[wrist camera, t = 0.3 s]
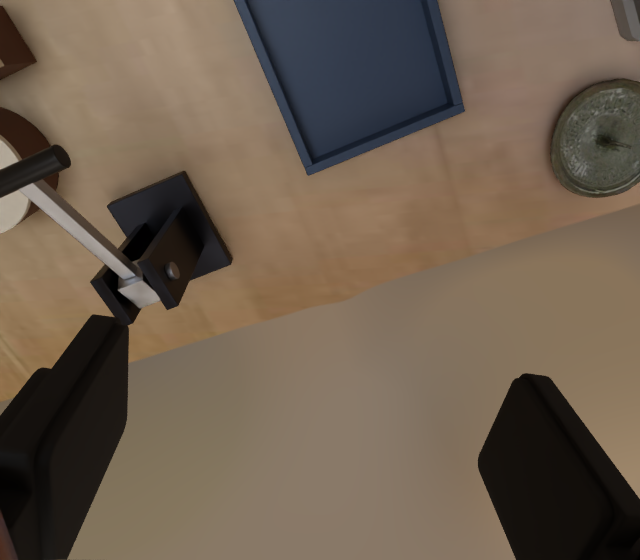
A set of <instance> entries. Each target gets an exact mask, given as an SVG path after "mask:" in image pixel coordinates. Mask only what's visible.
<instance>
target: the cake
mask: <svg viewBox="0 0 640 560" xmlns="http://www.w3.org/2000/svg"><path fill="white" fill-rule="evenodd" d="M48 147H50V145H49V143H48V141H47V140H46V139H45V137H44V136H43V135H42V134H41V133H40V131H39V130H38V129H37V128H36V127H34V126H33V125H32V124H31V123H30V122H29V121H27V120H26V119H24V118H23V117H21V116H19V115H18V114H16V113H14V112H11V111H9V110H6V109H3V108H0V169H2V168H5V167H7V166H9V165H11V164H13V163H16V162H18V161H20V160H22V159H24V158H27V157H29V156H31V155H33V154H35V153H37V152H40V151H42V150H44V149H46V148H48ZM43 180H44V181H45V182H46V183H47V184H48V185H49V186H50V187H51V188H52V189H53V190H54V191H56V188H57V184H58V173H55V174H53V175H51V176H49V177H47V178H44V179H43ZM39 209H40V208H39V207H38V206H37V205H36V204H34V203H33V202H32V201H31V200H30V199H29V198H27V197H26V196H25V195H24V194H23V193H22V192H20V191H19V190H17V191H15V192H13V193H11V194H9V195H6V196H4V197H2V198H0V234H1V233H3V232H6V231H8V230H10V229H11V228H13V227H14V226H16V225H17V224H19V223H20V222H22V221H23V220H25V219H26V218H27V217H29V216H30V215H32V214H33V213H35V212H36V211H38V210H39Z"/></svg>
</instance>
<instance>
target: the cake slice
mask: <svg viewBox="0 0 640 560" xmlns="http://www.w3.org/2000/svg"><path fill="white" fill-rule="evenodd" d="M35 62H37V61H36V59H35V58H34V56H33V55H32V53H31V51H30V50H29V48H28V47H27V45H26V43H25V42H24V40H23V39H22V37H21V35H20V34H19V32H18V31H17V29H16V27H15V26H14V24H13V22H12V21H11V19H10V18H9V16H8V14H7V13H6V11H5V10H4V8H3V7H2V6H0V80H1V79H3V78H5V77H7V76H9V75H11V74H13V73H15V72H17V71H19V70H21V69H23V68H25V67H27V66H29V65H31V64H33V63H35Z"/></svg>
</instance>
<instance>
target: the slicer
mask: <svg viewBox="0 0 640 560" xmlns="http://www.w3.org/2000/svg"><path fill="white" fill-rule="evenodd" d="M107 207H108V209H109V210H110V212H111V214H112V215H113V217H114V218H115V220H116V221H117V223H118V224H119V226H120V228H121V229H122V231H123V232H124V234H125V235H126V237H127V238H126V240H125V241H124V242H123V243H122V244H121V246H120V247H119V248H118V249H119V250H120V251H121V252H122V253H123V254H124V255H125V256H126V257H127V258H128V259H129V260H130V261H132V262H133V261H136V260H138V259H139V261H138V262H137V264H138V266H139V267H140V269H141V271H142V272H143V274H144V275H145V277H146V278H147V280H148V281H149V283H150V284H151V286H152V287H153V289H154V291H155V292H156V294H157V295H158V297H159V298H160V300H161V301H162V303H163V304H164V306H165V307H166V309H167V310H169V309H171V308H174V307H177V306H178V305H179V303H180V301H181V299H182V296H183V294H184V292H185V289H186V287H187V285H188V283H189V281H190V280H193V279H195V278H198V277H200V276H203V275H205V274H208V273H211V272H213V271H216V270H218V269H221V268H223V267H226V266H228V265H231V263H232V257H231V256H230V254H229V252H228V250H227V248H226V246H225V245H224V243H223V241H222V239H221V237H220V235H219V234H218V232H217V230H216V228H215V226H214V224H213V222H212V221H211V219H210V217H209V215H208V213H207V211H206V210H205V208H204V206H203V204H202V202H201V200H200V199H199V197H198V195H197V193H196V191H195V189H194V188H193V186H192V184H191V182H190V180H189V178H188V176H187V175H186V173H185V171H182V172H180V173H178V174H175V175H173V176H171V177H168V178H166V179H164V180H161V181H159V182H157V183H154V184H152V185H150V186H147V187H145V188H143V189H140V190H138V191H136V192H133V193H131V194H129V195H126V196H124V197H122V198H120V199H117V200H115V201H113V202H111V203H110V204H109V205H107ZM118 279H119V276H118V275H117V274H116V273H115V272H114V271H113V270H111V269H110V268H109V267H108V266H107V265H106V264H105V265H104V266H103V267H102V268H101V270H100V271H99V272H98V273H97V274H96V276H95V277H94V278H93V279H92V280H91V282H90V283H91V284H92V286H93V287H94V288H95V290H96V291H97V293H98V294H99V295H100V297H101V298H102V299H103V301H104V302H105V304H106V305H107V306H108V308H109V309H110V311H111V312H112V313H113V315H114V316H115V317H116V318H119V319H120V321H121V325H130V324H132V323H133V322H134V321H135V319H136V317H137V315H138V314H139V312H140V310H141V308H139V307H137V306H136V305H135V304H134V303H132V302H131V301H130V300H129V299H128V298H126V297H125V296H124V295H123V294H121V293H120V292H119V291H118Z"/></svg>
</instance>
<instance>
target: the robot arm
mask: <svg viewBox="0 0 640 560" xmlns="http://www.w3.org/2000/svg"><path fill="white" fill-rule="evenodd" d="M128 345H129V328H128V326H127V325H121V321H120V319H119V318H116V317H109V316H101V315H92V316H91V317H90V318H89V319H88V320H87V322H86V323H85V325H84V326H83V327H82V329H81V330H80V331H79V333H78V334H77V335H76V337H75V338H74V339H73V341H72V342H71V343H70V345H69V346H68V347H67V349H66V350H65V351H64V353H63V354H62V355H61V357H60V358H59V359H58V361H57V362H56V363H55V365H54V366H53V367H52V369H49V368H40V369H38V370H37V371H36V372H35V373H34V374H33V375H32V376H31V377H30V379H29V380H28V381H27V382H26V384H25V385H24V386H23V388H22V389H21V390H20V391H19V393H18V394H17V395H16V396H15V398H14V399H13V400H12V402H11V403H10V404H9V406H8V407H7V408H6V409H5V410H4V412H3V413H2V414H1V415H0V560H67V558H68V556H69V553H70V551H71V549H72V547H73V544H74V542H75V540H76V538H77V535H78V533H79V531H80V529H81V526H82V524H83V522H84V519H85V517H86V515H87V513H88V511H89V508H90V506H91V504H92V502H93V499H94V497H95V494H96V493H97V490H98V488H99V486H100V484H101V481H102V479H103V477H104V474H105V472H106V470H107V468H108V465H109V463H110V461H111V459H112V457H113V454H114V452H115V450H116V447H117V445H118V443H119V441H120V439H121V436H122V434H123V432H124V429H125V425H126V421H127V400H128V399H127V398H128ZM478 468H479V472H480V474H481V476H482V479H483V481H484V484H485V486H486V489H487V491H488V493H489V496H490V498H491V501H492V503H493V505H494V508H495V510H496V512H497V515H498V517H499V520H500V522H501V525H502V527H503V529H504V532H505V534H506V536H507V539H508V541H509V544H510V546H511V549H512V551H513V553H514V556H515V558H516V560H640V499H639V498H638V496H637V495H636V494H635V492H634V491H633V490H632V488H631V487H630V485H629V484H628V483H627V481H626V480H625V479H624V477H623V476H622V475H621V473H620V472H619V470H618V469H617V468H616V466H615V465H614V464H613V462H612V461H611V460H610V458H609V457H608V456H607V454H606V453H605V451H604V450H603V449H602V448H601V446H600V445H599V443H598V442H597V441H596V439H595V438H594V437H593V435H592V434H591V433H590V431H589V430H588V429H587V427H586V426H585V424H584V423H583V422H582V420H581V419H580V418H579V416H578V415H577V414H576V413H575V411H574V410H573V408H572V407H571V406H570V405H569V403H568V402H567V400H566V399H565V397H564V396H563V395H562V393H561V392H560V391H559V389H558V388H557V387H556V385H555V384H554V383H553V381H552V380H551V379H550V378H549V377H547V376H542V375H535V374H527V373H526V374H522V375H521V376H520V377H519V378H516V379H515V380H514V381H513V382H512V384H511V386H510V388H509V391H508V393H507V395H506V397H505V399H504V401H503V404H502V406H501V408H500V410H499V412H498V415H497V417H496V419H495V421H494V424H493V426H492V428H491V430H490V432H489V434H488V437H487V439H486V441H485V443H484V445H483V448H482V450H481V452H480V454H479V457H478Z"/></svg>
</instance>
